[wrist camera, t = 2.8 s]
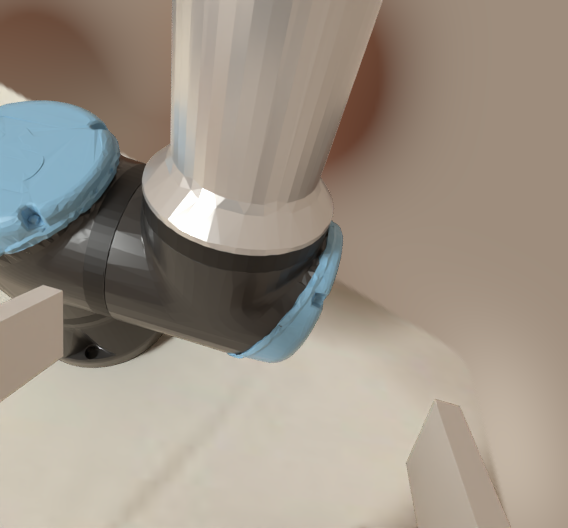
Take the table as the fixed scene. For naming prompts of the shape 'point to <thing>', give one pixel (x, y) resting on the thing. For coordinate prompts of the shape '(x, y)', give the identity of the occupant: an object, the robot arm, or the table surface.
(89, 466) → the table surface
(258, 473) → the table surface
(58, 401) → the table surface
